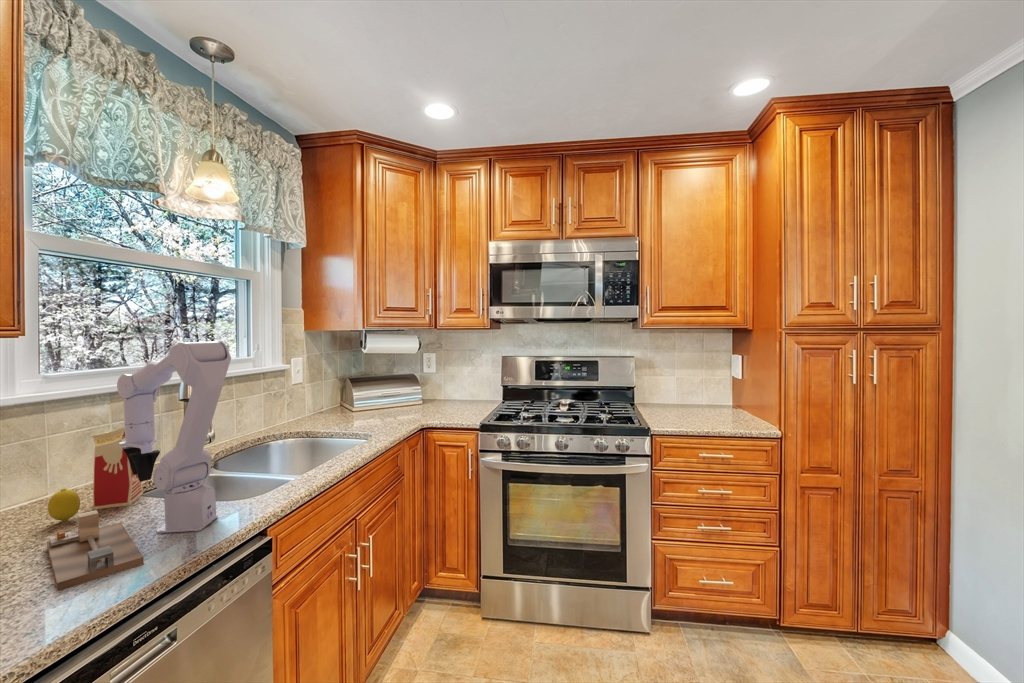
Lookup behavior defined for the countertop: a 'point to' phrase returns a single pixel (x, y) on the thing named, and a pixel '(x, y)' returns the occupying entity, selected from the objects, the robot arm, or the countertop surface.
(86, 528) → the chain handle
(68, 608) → the countertop surface
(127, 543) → the keeper board
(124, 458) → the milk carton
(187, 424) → the robot arm
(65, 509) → the lemon
